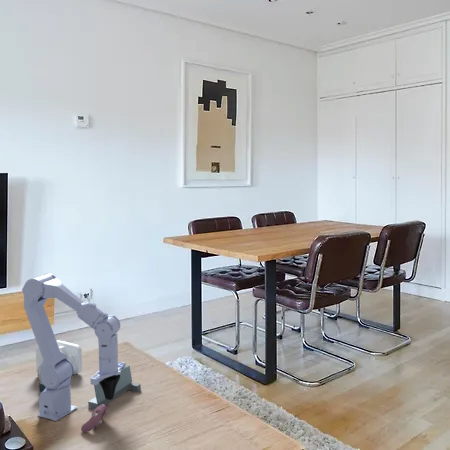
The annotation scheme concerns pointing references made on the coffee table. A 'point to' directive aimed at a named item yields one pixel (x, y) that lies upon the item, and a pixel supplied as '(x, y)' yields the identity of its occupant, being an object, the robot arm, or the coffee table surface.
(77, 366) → the cable organizer
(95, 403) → the rail
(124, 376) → the panel
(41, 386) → the watch
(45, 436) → the coffee table surface
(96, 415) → the video game controller
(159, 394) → the coffee table surface
